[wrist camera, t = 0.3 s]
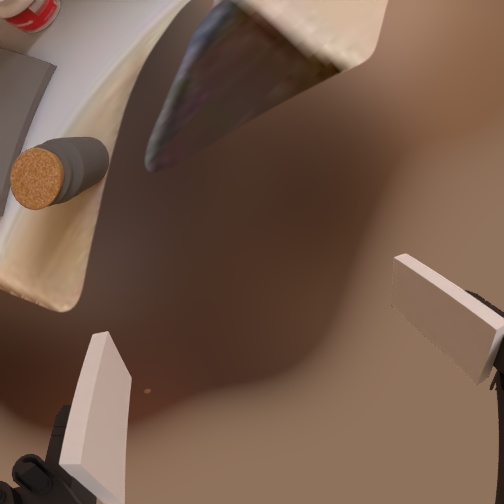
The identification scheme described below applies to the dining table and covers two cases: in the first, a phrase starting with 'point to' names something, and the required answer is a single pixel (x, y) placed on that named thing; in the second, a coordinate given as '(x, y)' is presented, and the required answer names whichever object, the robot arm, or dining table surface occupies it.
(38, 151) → the bottle
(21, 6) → the pill bottle
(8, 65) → the hole plate
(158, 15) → the dining table surface
